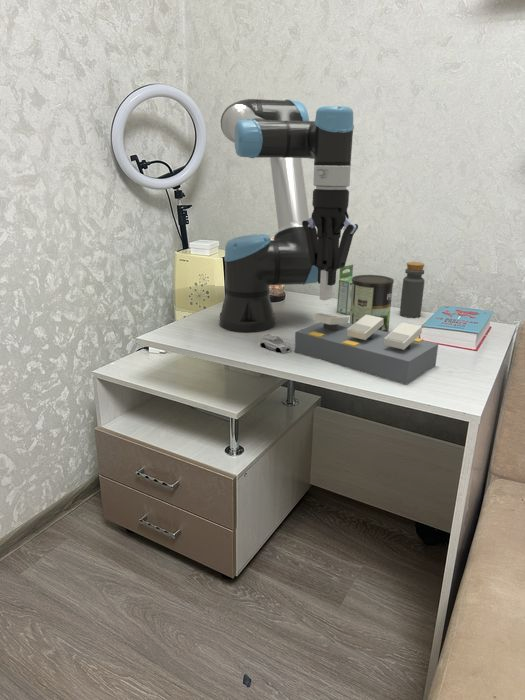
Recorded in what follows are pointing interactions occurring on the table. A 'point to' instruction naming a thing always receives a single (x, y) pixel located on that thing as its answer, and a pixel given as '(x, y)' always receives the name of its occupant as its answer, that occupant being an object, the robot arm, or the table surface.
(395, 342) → the rocker right
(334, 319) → the rocker left
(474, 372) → the table surface
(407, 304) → the bottle
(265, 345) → the toy car
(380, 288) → the coffee can
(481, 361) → the table surface
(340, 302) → the ink box
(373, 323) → the rocker mid
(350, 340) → the switch unit
